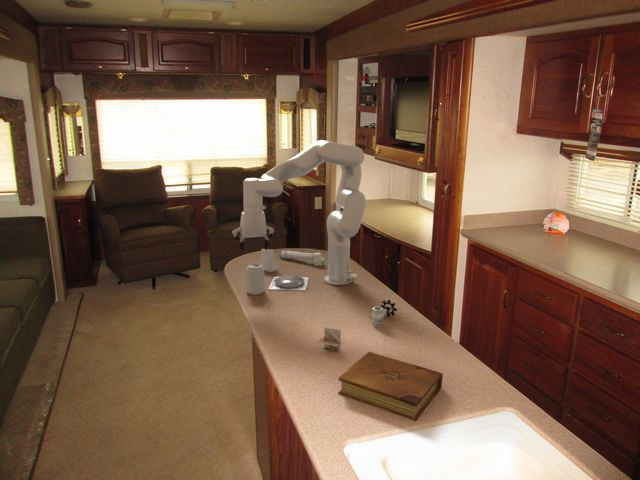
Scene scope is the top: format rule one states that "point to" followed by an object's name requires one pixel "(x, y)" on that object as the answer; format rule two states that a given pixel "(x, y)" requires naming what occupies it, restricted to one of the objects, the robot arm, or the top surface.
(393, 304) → the valve
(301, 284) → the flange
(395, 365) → the diary
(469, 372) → the top surface
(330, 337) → the architectural model
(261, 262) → the tea bag
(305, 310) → the top surface
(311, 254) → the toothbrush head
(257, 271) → the can
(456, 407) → the top surface
